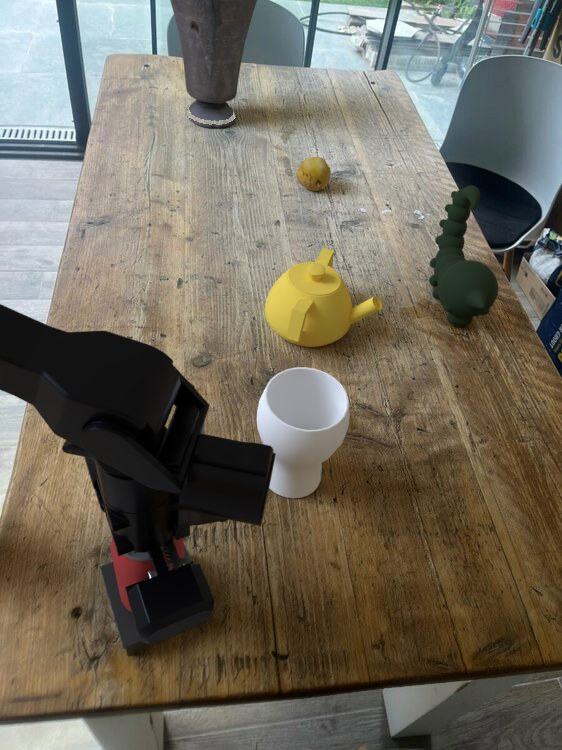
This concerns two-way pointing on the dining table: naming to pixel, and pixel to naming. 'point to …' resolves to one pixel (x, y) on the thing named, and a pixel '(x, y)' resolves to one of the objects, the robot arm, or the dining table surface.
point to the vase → (212, 52)
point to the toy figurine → (461, 266)
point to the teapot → (314, 304)
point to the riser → (127, 612)
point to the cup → (302, 427)
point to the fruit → (314, 173)
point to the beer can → (136, 567)
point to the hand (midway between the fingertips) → (150, 568)
